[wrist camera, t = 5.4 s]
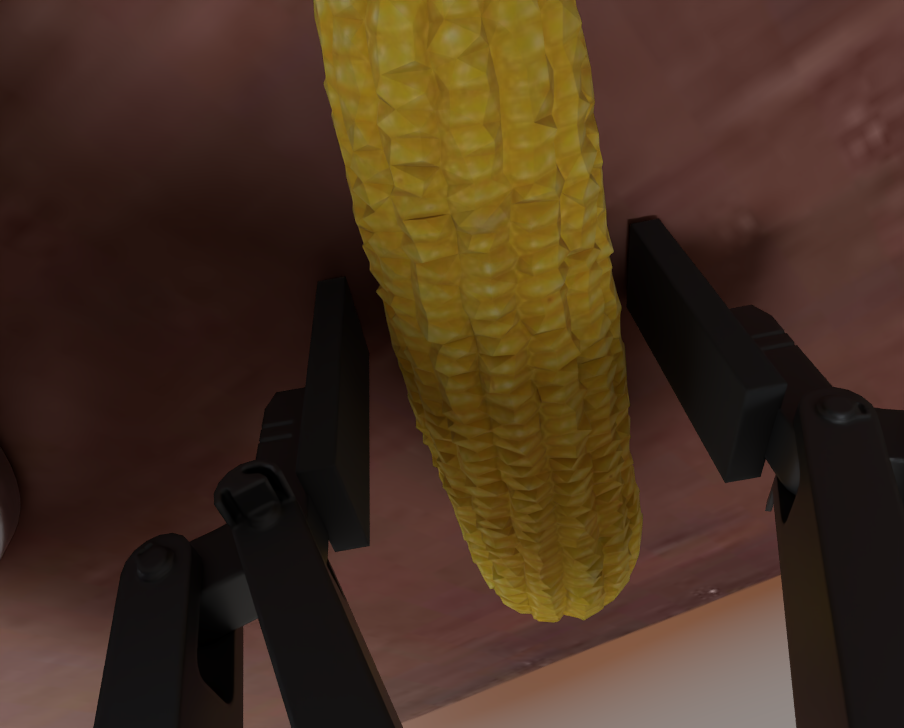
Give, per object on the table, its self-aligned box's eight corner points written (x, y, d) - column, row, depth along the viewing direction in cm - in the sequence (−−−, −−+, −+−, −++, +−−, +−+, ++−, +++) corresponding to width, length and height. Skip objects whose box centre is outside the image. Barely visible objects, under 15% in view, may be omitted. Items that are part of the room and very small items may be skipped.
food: (615, 479, 23) (674, 630, 19) (474, 514, 24) (499, 669, 19) (515, -297, 10) (639, -420, 5) (193, -181, 10) (57, -204, 6)
